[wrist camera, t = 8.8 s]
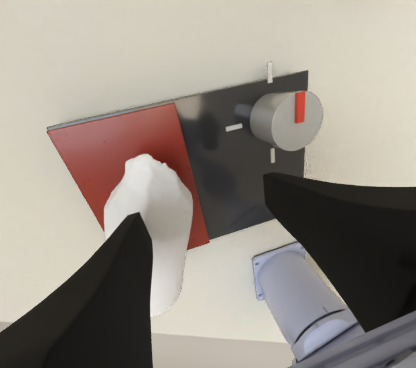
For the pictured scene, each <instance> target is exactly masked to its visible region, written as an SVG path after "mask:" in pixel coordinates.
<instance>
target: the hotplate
mask: <svg viewBox="0 0 416 368" xmlns="http://www.w3.org/2000/svg"><path fill="white" fill-rule="evenodd" d="M47 133H48V135H49V137H50V138H51V140H52V142H53V144H54V145H55V147H56V149H57V151H58V152H59V154H60V156H61V158H62V159H63V161H64V163H65V164H66V166H67V168H68V170H69V171H70V173H71V175H72V177H73V178H74V180H75V182H76V184H77V185H78V187H79V189H80V191H81V192H82V194H83V196H84V198H85V199H86V201H87V203H88V204H89V206H90V208H91V210H92V211H93V213H94V215H95V217H96V218H97V220H98V222H99V224H100V225H101V227H102V229H103V231H104V232H105V229H104V207H105V205H106V202H107V200H108V199H109V197H110V195H111V192H112V191H113V190H114V189H115V187H116V186H117V185H118V184H119V183H120V182H121V180H122V178H123V177H124V174H125V163H126V161H128V160H129V159H131V158H135V157H137V156H138V155H142V154H149V155H150V156H152V157H153V159H155V160H157V161H160V162H161V163H162V164H163V163H166V164H167V166H168V167H169V168H170V169H172V170H174V171H175V172H176V173H177V176H178V177H179V178H180V180H181V182H182V183H183V184H184V185H185V186H186V187H187V188H188V190H189V191H190V192H191V195H192V199H193V216H192V224H191V229H190V235H189V241H188V245H187V250H189V249H192V248H195V247H198V246H201V245H204V244H207V243H210V241H209V237H208V233H207V229H206V225H205V221H204V217H203V213H202V209H201V205H200V201H199V197H198V193H197V189H196V185H195V181H194V177H193V173H192V169H191V165H190V161H189V157H188V153H187V149H186V145H185V141H184V137H183V133H182V129H181V125H180V121H179V117H178V113H177V109H176V105H175V103H170V104H165V105H161V106H156V107H152V108H147V109H143V110H138V111H134V112H129V113H125V114H120V115H116V116H111V117H107V118H102V119H98V120H93V121H89V122H84V123H79V124H75V125H70V126H66V127H61V128H57V129H52V130H49V131H47Z"/></svg>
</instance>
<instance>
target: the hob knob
mask: <svg viewBox="0 0 416 368" xmlns="http://www.w3.org/2000/svg"><path fill="white" fill-rule="evenodd" d="M322 119H323V108H322V104H321V102H320V100H319V99H318V97H317V96H316V95H315V94H313V93H311V92H309V91H285V92H271V93H268V94H265V95H264V96H262V97H261V98H260V99H259V100H258V101H257V102H256V103H255V105H254V107H253V109H252V111H251V115H250V127H251V130H252V133H253V134H254V136H255V137H256V138H258V139H259V140H261V141H264V142H266V143H268V144H271V145H273V146H276V147H278V148H280V149H283V150H286V151H296V150H299V149H301V148H303V147H305V146H307V145H308V144H309V143H310V142H311V141H312V140H313V139H314V138H315V136H316V135H317V133H318V131H319V129H320V127H321V124H322Z"/></svg>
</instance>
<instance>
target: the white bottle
mask: <svg viewBox="0 0 416 368" xmlns="http://www.w3.org/2000/svg"><path fill="white" fill-rule="evenodd" d="M137 212H140V214H141V217H142V219H143V221H144V223H145V225H146V228H147V230H148V232H149V234H150V237H151V239H152V246H153V268H152V282H151V296H150V318H152V317H155V316H158V315H160V314H162V313H163V312H165V311H166V310H168V309H169V308H170V307H171V306H172V305H173V304H174V303H175V301H176V300H177V299H178V297H179V295H180V292H181V289H182V282H183V272H184V265H185V258H186V251H187V245H188V241H189V235H190V229H191V224H192V216H193V199H192V195H191V192H190V191H189V190H188V188H187V187H186V186H185V185H184V184H183V183H182V182H181V180H180V178H179V177H178V176H177V173H176V172H175V171H174V170H172V169H170V168H169V167H168V166H167V164H166V163H163V164H162V163H161V162H160V161H157V160H155V159H153V157H152V156H150V155H149V154H142V155H138V156H137V157H135V158H131V159H129V160H128V161H126V163H125V174H124V177H123V178H122V180H121V182H120V183H119V184H118V185H117V186H116V187H115V189H114V190H113V191H112V192H111V195H110V197H109V199H108V200H107V202H106V205H105V207H104V229H105V241H106V240H107V239H108V238H109V237H110V235H111V234H112V233H113V232H114V231H115V229H116V228H117V227H118V226H119V225H120V223H121V222H122V221H123V220H124V219H125V218H126V216H127V215H130V214H133V213H137Z"/></svg>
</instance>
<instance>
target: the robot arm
mask: <svg viewBox="0 0 416 368" xmlns="http://www.w3.org/2000/svg"><path fill="white" fill-rule="evenodd" d="M263 183H264V197H265V205H266V206H267V208H268V209H269V210H270V212H271V213H272V214H273V216H274V217H275V218H276V219H277V220H278V221H279V222H280V223H281V224H282V225H283V227H284V228H285V229H286V230H287V231H288V232H289V233H290V234H291V235H292V236H293V237H294V238H295V239H296V240H297V241H298V242H296V243H294V244H291V245H288V246H285V247H282V248H279V249H276V250H273V251H271V252H268V253H265V254H262V255H259V256H256V257H254V258H253V260H252V262H253V270H254V279H255V287H256V296H257V299H258V301H261V300H265V302H266V304H267V305H268V307H269V309H270V311H271V313H272V315H273V317H274V319H275V321H276V323H277V324H278V326H279V328H280V330H281V332H282V334H283V336H284V338H285V339H286V341H287V342H288V343H289V344H290V345H291V346H292V347H291V349H292V351H293V353H294V355H295V357H296V358H295V359H293V360H292V366H290V367H288V368H416V187H372V186H355V185H346V184H337V183H329V182H323V181H317V180H312V179H307V178H302V177H298V176H293V175H288V174H283V173H278V172H271V173H267V174H264V175H263ZM305 250H306V251H307V252H308V253H309V254H310V256H311V257H312V258H313V259H314V261H315V262H316V263H317V265H318V266H319V267H320V268H321V270H322V271H323V272H324V274H325V275H326V276H327V278H328V279H329V280H330V282H331V283H332V285H333V286H334V287H335V289H336V290H337V292H338V293H339V295H340V296H341V297H342V299H343V300H344V302H345V303H346V304H347V306H348V307H349V308H348V307H347V306H346V305H345V304H344V303H343V302H342V300H341V299H340V298H339V297H338V296H337V295H336V294H335V293H334V292H333V291H332V289H331V288H330V287H329V286H328V285H327V284H326V283H325V282H324V281H323V279H322V278H321V277H320V276H319V275H318V274H317V273H316V272H315V271H314V270H313V268H312V267H311V266H310V265H309V264H308V263H307V262H306V261H305ZM152 268H153V246H152V239H151V237H150V234H149V232H148V230H147V228H146V225H145V223H144V221H143V219H142V217H141V214H140V212H137V213H133V214H130V215H127V216H126V218H125V219H124V220H123V221H122V222H121V223H120V225H119V226H118V227H117V228H116V229H115V231H114V232H113V233H112V234H111V235H110V237H109V238H108V239H107V240H106V241H105V242H104V244H103V245H102V246H101V247H100V248H99V249H98V250H97V251H96V252H95V253H94V255H93V256H92V257H91V258H90V259H89V260H88V261H87V262H86V263H85V264H84V265H83V266H82V267H81V268H80V269H79V270H78V271H77V272H75V273H74V274H73V275H72V276H71V277H70V278H69V279H68V280H67V281H66V282H64V283H63V284H62V285H61V286H60V287H58V288H57V289H56V290H55V291H54V292H53V293H51V294H50V295H49V296H48V297H47V298H45V299H44V300H43V301H42V302H40V303H39V304H38V305H37V306H35V307H34V308H33V309H31V310H30V311H29V312H28V313H26V314H25V315H24V316H22V317H21V318H20V319H18V320H17V321H15V322H14V323H13V324H11V325H10V326H9V327H7V328H6V329H5V330H3V331H2V332H0V368H153V364H152V363H153V362H152V346H151V345H152V344H151V320H150V296H151V282H152Z"/></svg>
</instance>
